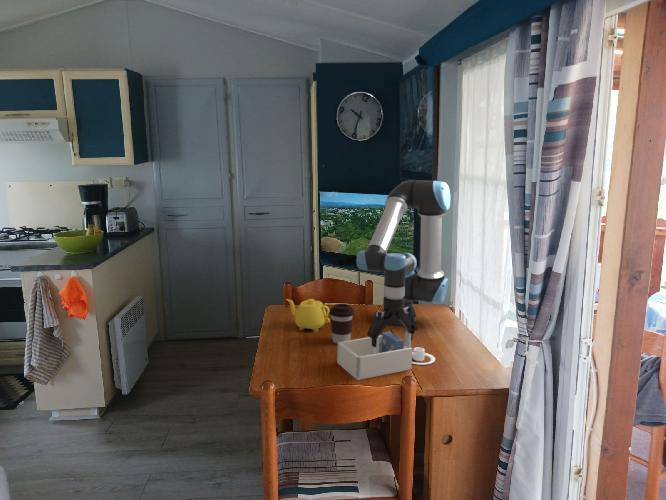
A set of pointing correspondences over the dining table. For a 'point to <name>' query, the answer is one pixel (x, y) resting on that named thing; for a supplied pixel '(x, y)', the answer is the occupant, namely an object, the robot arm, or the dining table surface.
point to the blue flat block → (391, 342)
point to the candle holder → (421, 356)
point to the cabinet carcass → (371, 358)
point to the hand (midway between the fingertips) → (391, 352)
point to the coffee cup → (341, 322)
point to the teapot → (310, 314)
